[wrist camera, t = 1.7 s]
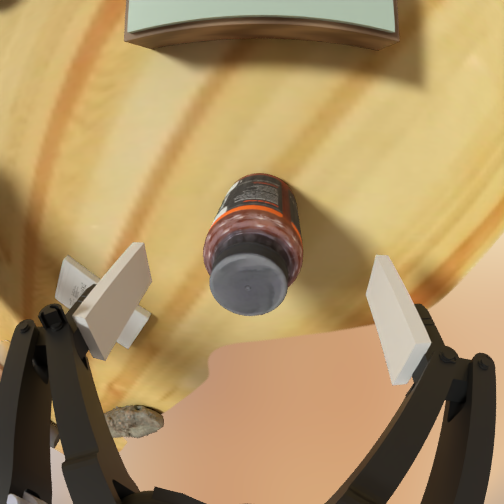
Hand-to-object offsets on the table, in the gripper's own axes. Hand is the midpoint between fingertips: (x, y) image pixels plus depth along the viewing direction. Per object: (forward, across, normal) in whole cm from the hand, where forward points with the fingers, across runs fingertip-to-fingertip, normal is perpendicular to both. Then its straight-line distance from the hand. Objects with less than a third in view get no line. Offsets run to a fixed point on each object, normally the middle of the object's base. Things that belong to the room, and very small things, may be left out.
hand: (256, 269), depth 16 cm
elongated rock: (+10, -31, -50) cm, 60 cm away
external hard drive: (+10, -20, -13) cm, 26 cm away
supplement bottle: (+10, 0, 0) cm, 10 cm away
